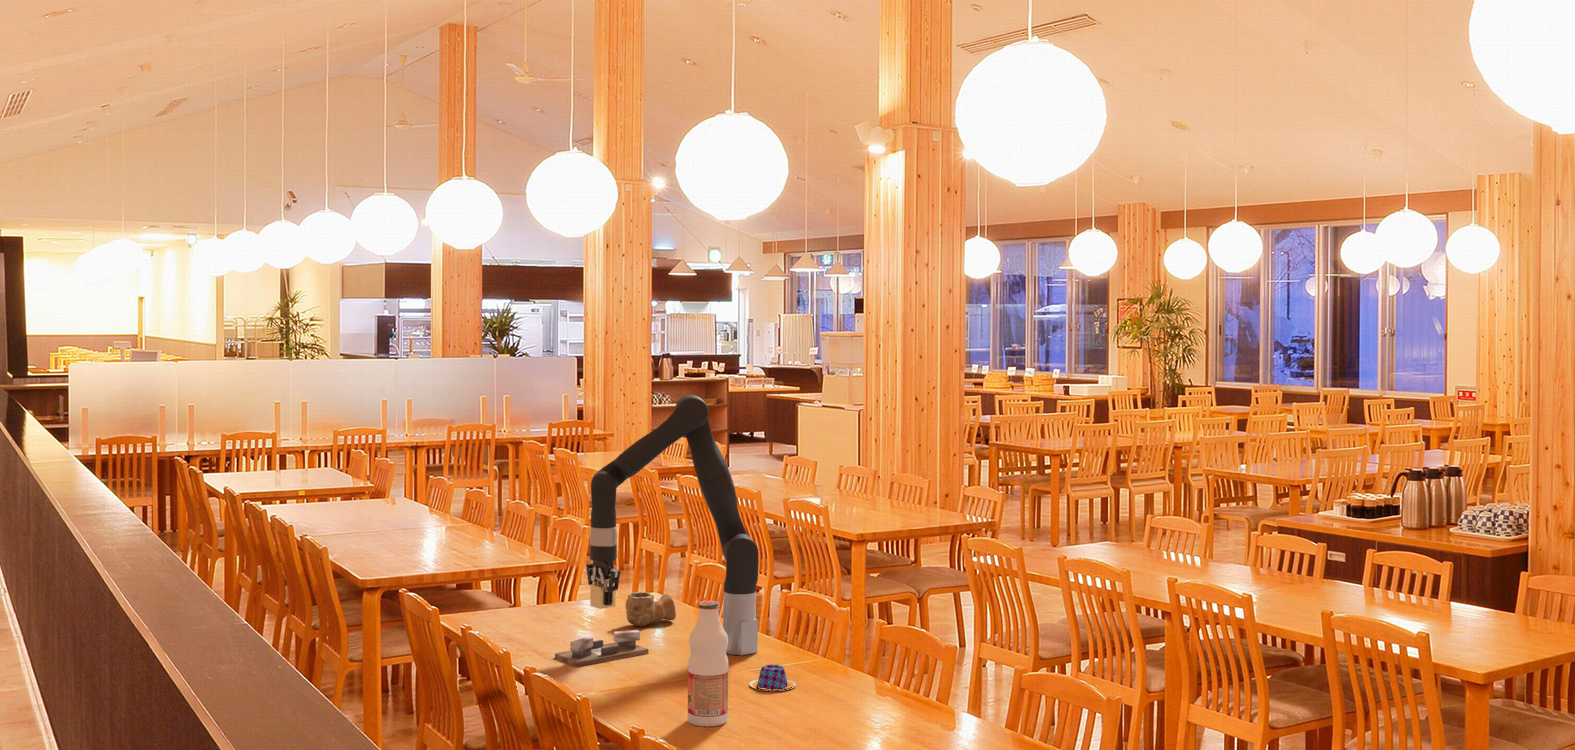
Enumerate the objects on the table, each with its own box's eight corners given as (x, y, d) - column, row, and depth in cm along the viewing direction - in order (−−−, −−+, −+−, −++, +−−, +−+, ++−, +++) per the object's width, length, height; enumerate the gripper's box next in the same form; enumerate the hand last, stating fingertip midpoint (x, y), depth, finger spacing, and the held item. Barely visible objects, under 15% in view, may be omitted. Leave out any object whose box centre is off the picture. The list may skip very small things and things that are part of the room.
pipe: (680, 623, 395) (680, 591, 395) (637, 631, 384) (637, 598, 384) (663, 618, 402) (663, 586, 401) (620, 625, 391) (620, 593, 391)
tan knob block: (615, 606, 355) (615, 584, 354) (600, 609, 351) (600, 586, 351) (605, 603, 358) (605, 581, 358) (590, 605, 355) (590, 583, 355)
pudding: (804, 685, 330) (804, 665, 330) (781, 696, 320) (781, 675, 320) (764, 678, 336) (764, 658, 336) (740, 689, 326) (740, 668, 326)
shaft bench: (648, 653, 358) (648, 632, 358) (578, 666, 343) (578, 645, 343) (624, 644, 367) (624, 624, 367) (554, 657, 352) (555, 636, 352)
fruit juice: (706, 730, 291) (708, 608, 290) (679, 721, 298) (680, 602, 297) (736, 721, 298) (737, 602, 297) (708, 712, 305) (709, 596, 304)
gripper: (577, 540, 357) (577, 600, 358) (606, 547, 346) (605, 609, 347) (600, 537, 362) (600, 597, 363) (629, 545, 351) (628, 606, 352)
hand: (602, 603), depth 355 cm, fingers closed on tan knob block, 5 cm apart
